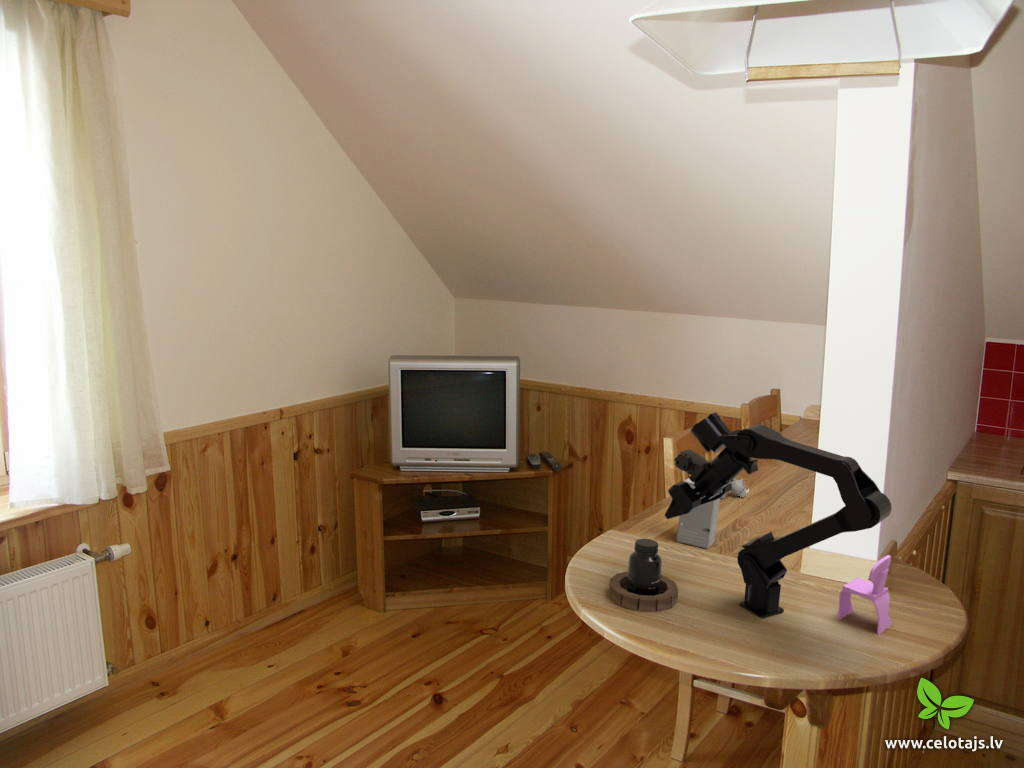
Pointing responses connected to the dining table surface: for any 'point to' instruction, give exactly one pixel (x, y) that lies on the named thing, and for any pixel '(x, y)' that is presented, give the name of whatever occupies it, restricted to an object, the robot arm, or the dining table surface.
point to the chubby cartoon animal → (738, 488)
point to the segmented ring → (642, 601)
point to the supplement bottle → (644, 568)
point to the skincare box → (699, 524)
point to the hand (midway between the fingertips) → (677, 511)
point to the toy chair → (870, 593)
